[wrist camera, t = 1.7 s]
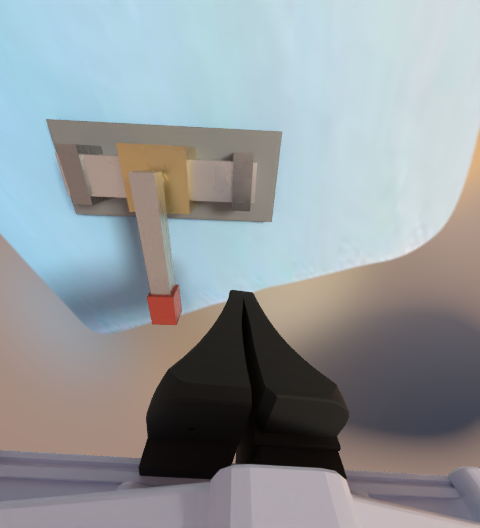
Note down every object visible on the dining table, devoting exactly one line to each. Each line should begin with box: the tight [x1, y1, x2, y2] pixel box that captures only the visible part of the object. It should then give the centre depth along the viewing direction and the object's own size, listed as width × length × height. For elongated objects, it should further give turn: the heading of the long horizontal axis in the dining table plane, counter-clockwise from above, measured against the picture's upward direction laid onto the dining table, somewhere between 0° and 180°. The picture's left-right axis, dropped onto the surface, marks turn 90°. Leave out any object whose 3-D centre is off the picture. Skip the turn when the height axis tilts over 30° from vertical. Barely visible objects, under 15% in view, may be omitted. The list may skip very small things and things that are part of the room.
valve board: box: [46, 119, 282, 222], centre depth 18 cm, size 18×7×1 cm, turn 88°
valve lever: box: [128, 170, 182, 325], centre depth 16 cm, size 12×2×2 cm, turn 178°
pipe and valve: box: [54, 143, 257, 214], centre depth 16 cm, size 14×4×4 cm, turn 87°
